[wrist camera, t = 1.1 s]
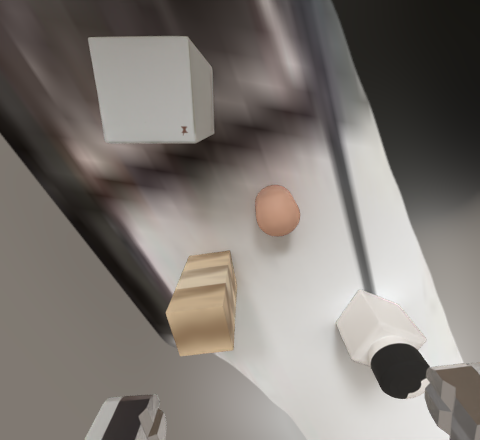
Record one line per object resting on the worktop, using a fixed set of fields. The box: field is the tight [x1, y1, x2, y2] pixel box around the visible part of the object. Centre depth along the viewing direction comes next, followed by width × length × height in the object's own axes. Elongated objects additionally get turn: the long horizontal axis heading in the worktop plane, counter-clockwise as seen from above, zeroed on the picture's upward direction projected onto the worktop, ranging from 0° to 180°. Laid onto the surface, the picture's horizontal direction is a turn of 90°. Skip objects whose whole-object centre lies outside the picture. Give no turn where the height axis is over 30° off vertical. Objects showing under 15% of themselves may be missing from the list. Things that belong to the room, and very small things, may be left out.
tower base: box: [183, 251, 237, 301], centre depth 38 cm, size 6×6×4 cm
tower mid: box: [175, 265, 236, 322], centre depth 34 cm, size 6×6×4 cm
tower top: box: [166, 283, 235, 356], centre depth 30 cm, size 6×6×4 cm
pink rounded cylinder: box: [255, 185, 300, 236], centre depth 33 cm, size 5×5×5 cm
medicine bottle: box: [336, 290, 430, 399], centre depth 36 cm, size 7×7×12 cm
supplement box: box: [88, 36, 214, 144], centre depth 26 cm, size 7×7×13 cm
